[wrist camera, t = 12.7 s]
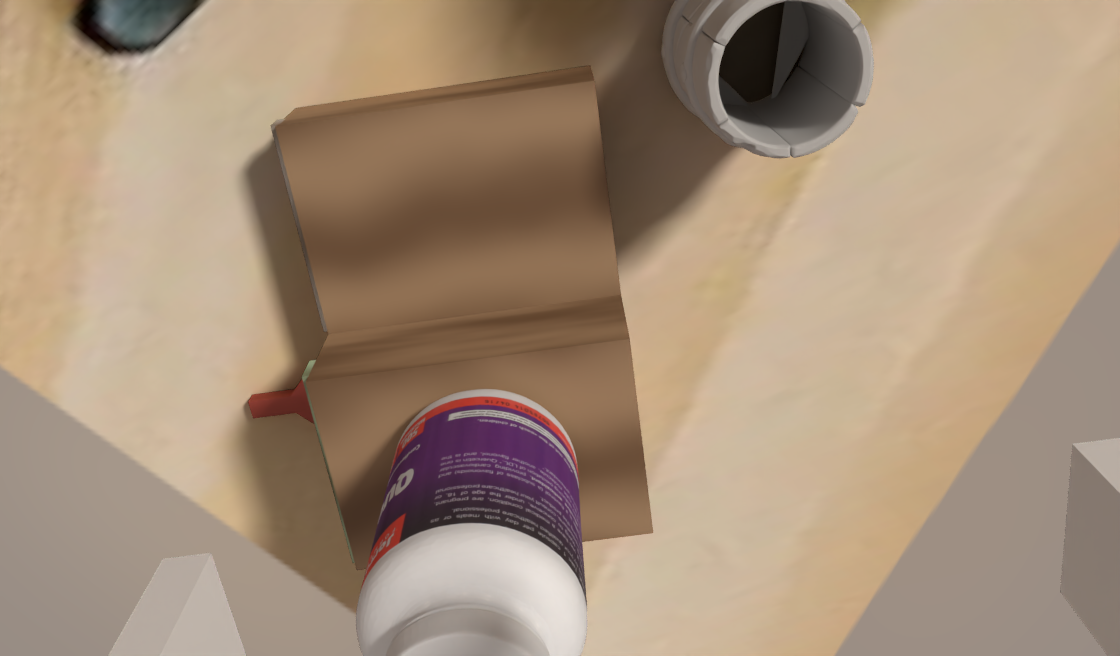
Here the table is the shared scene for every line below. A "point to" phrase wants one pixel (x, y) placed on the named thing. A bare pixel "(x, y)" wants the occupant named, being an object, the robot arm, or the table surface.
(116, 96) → the table surface
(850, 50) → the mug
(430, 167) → the step stand
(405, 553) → the pill bottle
